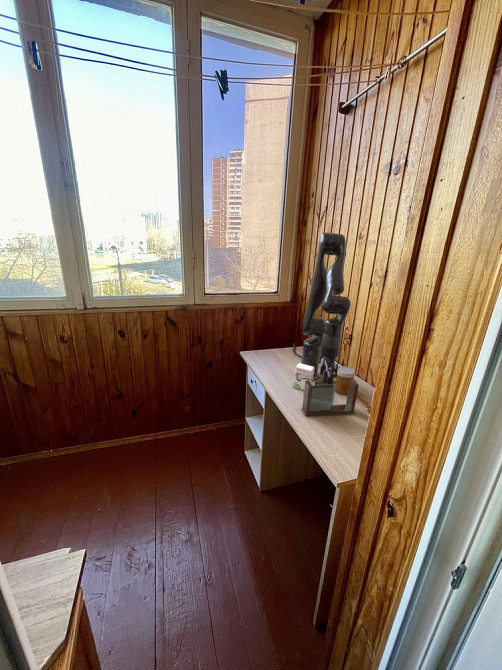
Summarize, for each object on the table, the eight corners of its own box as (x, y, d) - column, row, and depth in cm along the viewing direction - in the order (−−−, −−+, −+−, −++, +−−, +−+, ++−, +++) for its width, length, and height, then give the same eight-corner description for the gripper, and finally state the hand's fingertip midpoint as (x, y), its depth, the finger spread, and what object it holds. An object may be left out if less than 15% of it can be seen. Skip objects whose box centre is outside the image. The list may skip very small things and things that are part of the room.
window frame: (302, 409, 131) (305, 380, 126) (348, 407, 134) (353, 378, 129) (305, 416, 126) (309, 386, 121) (353, 413, 129) (358, 384, 124)
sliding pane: (311, 406, 130) (315, 370, 124) (331, 405, 131) (336, 370, 125) (312, 408, 129) (316, 372, 123) (332, 407, 130) (338, 371, 124)
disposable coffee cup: (355, 391, 147) (359, 370, 143) (345, 398, 140) (349, 376, 136) (339, 384, 153) (342, 363, 149) (328, 390, 147) (331, 369, 143)
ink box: (293, 387, 149) (295, 366, 145) (296, 383, 153) (298, 362, 149) (309, 392, 145) (311, 370, 141) (312, 387, 149) (314, 366, 145)
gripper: (347, 350, 114) (341, 387, 119) (332, 337, 127) (327, 371, 133) (328, 351, 113) (323, 388, 118) (316, 338, 126) (312, 371, 132)
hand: (325, 379), depth 125 cm, fingers open, 8 cm apart
